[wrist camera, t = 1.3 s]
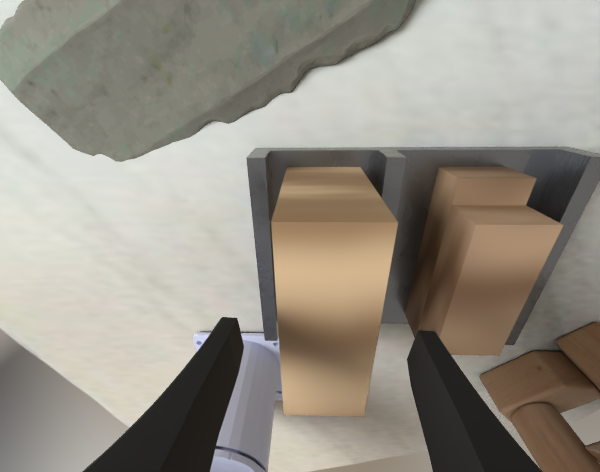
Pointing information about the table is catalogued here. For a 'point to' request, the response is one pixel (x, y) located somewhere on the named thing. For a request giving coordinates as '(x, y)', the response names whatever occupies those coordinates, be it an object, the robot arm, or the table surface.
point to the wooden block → (551, 399)
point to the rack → (421, 204)
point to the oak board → (329, 286)
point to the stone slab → (172, 61)
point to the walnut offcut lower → (448, 191)
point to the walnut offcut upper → (485, 274)
